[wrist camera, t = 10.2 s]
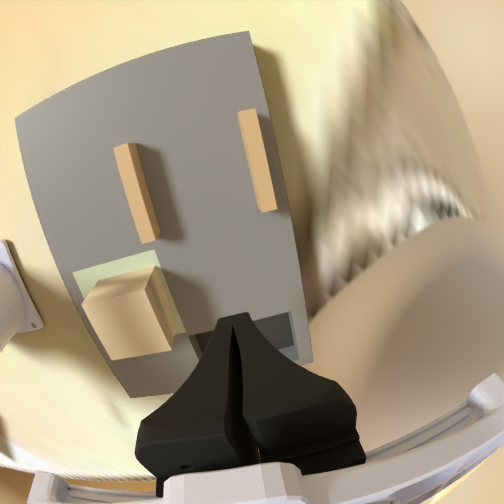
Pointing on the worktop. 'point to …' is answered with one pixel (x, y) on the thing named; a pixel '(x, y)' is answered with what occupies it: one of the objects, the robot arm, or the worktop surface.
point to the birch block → (131, 314)
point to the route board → (171, 198)
